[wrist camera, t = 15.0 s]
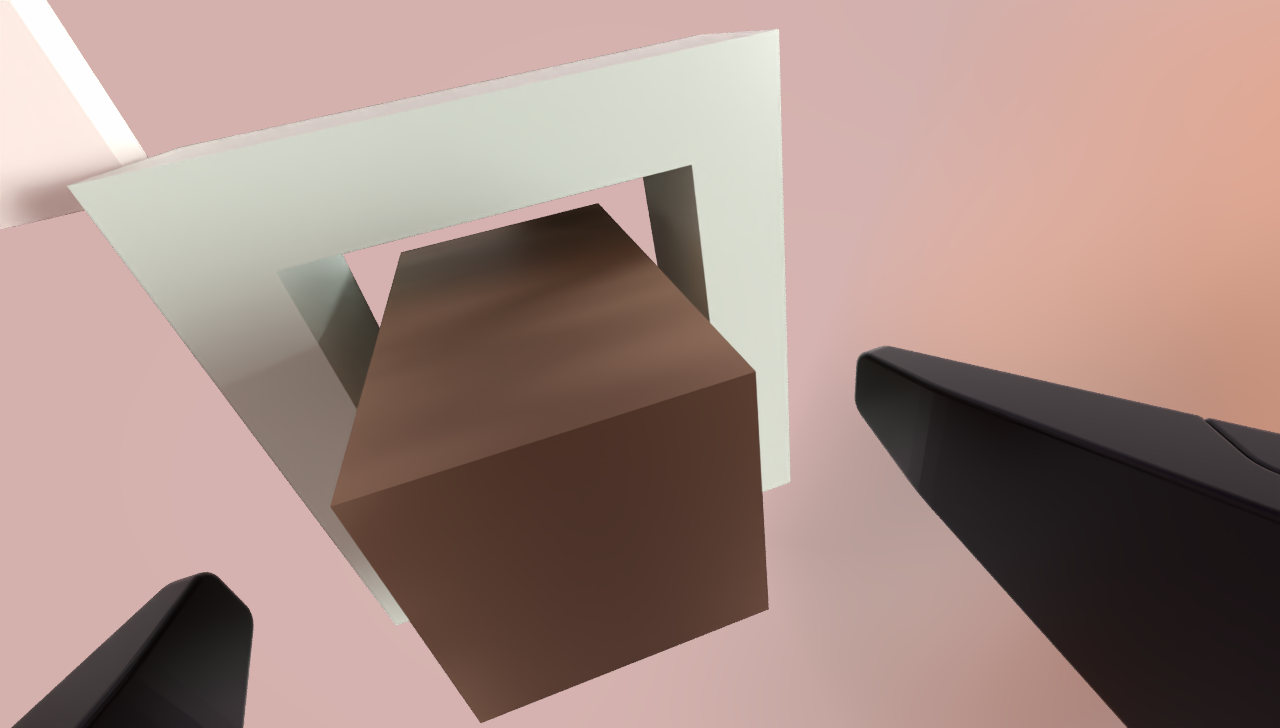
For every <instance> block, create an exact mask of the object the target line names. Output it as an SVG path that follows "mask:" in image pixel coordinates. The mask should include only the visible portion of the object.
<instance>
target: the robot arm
mask: <svg viewBox="0 0 1280 728" xmlns="http://www.w3.org/2000/svg"><path fill="white" fill-rule="evenodd" d="M855 402H856V405H857V409H858V411H859V412H860V414H861V416H862V417H863V418H864V420H865V421H866V422H867V424H868V425H869V427H870V428H871V429H872V431H873V432H874V434H875V435H876V436H877V438H878V439H879V440H880V442H881V443H882V445H883V446H884V447H885V449H886V450H887V452H888V453H889V454H890V456H891V457H892V458H893V460H894V461H895V463H896V464H897V465H898V467H899V468H900V469H901V471H902V472H903V474H904V475H905V476H906V478H907V479H908V480H909V482H910V483H911V484H912V486H913V487H914V488H915V490H916V491H917V492H918V493H919V494H920V496H921V497H922V498H923V499H924V500H925V501H926V503H927V504H928V505H929V506H930V507H931V508H932V510H933V511H934V512H935V513H936V514H937V515H938V516H939V517H940V519H941V520H943V522H944V523H945V524H946V525H947V526H948V528H950V530H951V531H952V532H953V533H954V534H955V535H956V536H957V538H958V539H959V540H960V541H961V542H962V543H963V544H964V545H965V546H966V548H967V549H968V550H969V551H970V552H971V553H972V554H973V556H974V557H975V558H976V559H977V560H978V561H979V562H980V563H981V564H982V566H983V567H984V568H985V569H986V570H987V571H988V572H989V573H990V574H991V576H992V577H993V578H994V579H995V580H996V581H997V582H998V584H999V585H1000V586H1001V587H1002V588H1003V589H1004V590H1005V591H1006V592H1007V593H1008V595H1009V596H1010V597H1011V598H1012V599H1013V600H1014V601H1015V603H1016V604H1017V605H1018V606H1019V607H1020V608H1021V609H1022V610H1023V612H1024V613H1025V614H1026V615H1027V616H1028V617H1029V618H1030V619H1031V620H1032V622H1033V623H1034V624H1035V625H1036V626H1037V627H1038V628H1039V629H1040V631H1041V632H1042V633H1043V634H1044V635H1045V636H1046V637H1047V638H1048V640H1049V641H1050V642H1051V643H1052V644H1053V645H1054V646H1055V647H1056V649H1058V651H1059V652H1060V653H1061V654H1062V655H1063V656H1064V657H1065V658H1066V660H1067V661H1068V662H1069V663H1070V664H1071V665H1072V666H1073V667H1074V669H1075V670H1076V671H1077V672H1078V673H1079V674H1080V675H1081V676H1082V678H1083V679H1084V680H1085V681H1086V682H1087V683H1088V684H1089V685H1090V687H1091V688H1092V689H1093V690H1094V691H1095V692H1096V693H1097V694H1098V696H1099V697H1100V698H1101V699H1102V700H1103V701H1104V702H1105V703H1106V705H1107V706H1108V707H1109V708H1110V709H1111V710H1112V711H1113V712H1114V713H1115V715H1116V716H1117V717H1118V718H1119V719H1120V720H1121V721H1122V722H1123V724H1124V725H1125V726H1126V727H1127V728H1280V434H1279V433H1274V432H1270V431H1265V430H1260V429H1256V428H1251V427H1247V426H1242V425H1238V424H1234V423H1229V422H1225V421H1220V420H1216V419H1211V418H1208V419H1205V420H1204V419H1203V418H1202V417H1200V416H1197V415H1193V414H1189V413H1184V412H1180V411H1175V410H1171V409H1166V408H1162V407H1157V406H1153V405H1149V404H1144V403H1140V402H1135V401H1131V400H1126V399H1122V398H1117V397H1113V396H1108V395H1104V394H1100V393H1095V392H1091V391H1086V390H1082V389H1077V388H1073V387H1069V386H1064V385H1059V384H1055V383H1051V382H1046V381H1042V380H1038V379H1033V378H1028V377H1024V376H1019V375H1015V374H1011V373H1006V372H1002V371H998V370H993V369H989V368H984V367H979V366H975V365H971V364H966V363H962V362H957V361H953V360H949V359H944V358H940V357H935V356H931V355H927V354H922V353H918V352H913V351H908V350H904V349H900V348H895V347H891V346H882V347H878V348H875V349H872V350H869V351H867V352H864V353H862V354H861V355H860V356H859V357H858V360H857V366H856V383H855ZM252 637H253V618H252V614H251V612H250V610H249V608H248V607H247V606H246V605H245V604H244V603H243V602H242V601H241V600H240V599H239V598H238V597H237V596H236V595H235V594H234V592H233V591H231V589H229V588H228V586H227V585H226V584H225V583H224V582H223V581H222V580H221V579H220V578H219V577H217V576H216V575H215V574H212V573H209V572H203V573H199V574H195V575H193V576H189V577H186V578H183V579H180V580H177V581H175V582H172V583H170V584H168V585H167V586H165V587H164V588H163V589H161V591H159V592H158V593H157V594H156V595H155V596H154V597H153V598H152V599H151V600H149V601H148V602H147V603H146V604H145V605H144V606H143V607H142V608H141V609H140V610H139V611H138V612H136V613H135V614H134V615H133V616H132V617H131V618H130V619H129V620H128V621H127V622H126V623H125V624H124V625H122V626H121V627H120V628H119V629H118V630H117V631H116V632H115V633H114V634H113V635H112V636H111V637H110V638H108V639H107V640H106V641H105V642H104V643H103V644H102V645H101V646H100V647H98V648H97V649H96V650H95V651H94V652H93V653H92V654H91V655H90V656H89V657H88V658H87V659H86V660H84V661H83V662H82V663H81V664H80V665H79V666H78V667H77V668H76V669H75V670H73V671H72V672H71V673H70V674H69V675H68V676H67V677H66V678H65V679H64V680H63V681H62V682H61V683H60V684H58V685H57V686H56V687H55V688H54V689H53V690H52V691H51V692H50V693H49V694H47V695H46V696H45V697H44V698H43V699H42V700H41V701H40V702H39V703H38V704H37V705H35V707H34V708H32V709H31V710H30V711H29V712H28V713H27V714H26V715H25V716H24V717H23V718H21V719H20V720H19V721H18V722H17V723H16V724H15V725H14V726H13V727H12V728H243V725H244V715H245V705H246V696H247V686H248V676H249V666H250V657H251V647H252Z"/></svg>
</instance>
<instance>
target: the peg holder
mask: <svg viewBox="0 0 1280 728" xmlns="http://www.w3.org/2000/svg"><path fill="white" fill-rule="evenodd" d="M781 136H782V134H781V95H780V56H779V29H772V30H758V31H745V32H731V33H718V34H704V35H696V36H691V37H686V38H683V39H677V40H673V41H668V42H663V43H659V44H655V45H650V46H645V47H640V48H636V49H631V50H627V51H622V52H617V53H613V54H608V55H604V56H599V57H594V58H590V59H585V60H580V61H576V62H571V63H567V64H562V65H558V66H553V67H549V68H544V69H539V70H534V71H530V72H525V73H521V74H516V75H512V76H507V77H502V78H497V79H493V80H488V81H484V82H480V83H474V84H471V85H465V86H461V87H456V88H451V89H447V90H442V91H438V92H433V93H428V94H424V95H419V96H415V97H410V98H405V99H401V100H396V101H391V102H387V103H382V104H378V105H373V106H368V107H364V108H359V109H355V110H350V111H346V112H341V113H337V114H332V115H327V116H323V117H318V118H313V119H308V120H304V121H300V122H295V123H290V124H286V125H281V126H277V127H272V128H267V129H262V130H258V131H253V132H249V133H244V134H239V135H235V136H230V137H226V138H221V139H216V140H212V141H207V142H203V143H198V144H193V145H189V146H185V147H180V148H177V149H174V150H171V151H168V152H165V153H162V154H159V155H156V156H154V157H151V158H147V159H145V160H142V161H139V162H136V163H133V164H130V165H127V166H124V167H121V168H118V169H115V170H112V171H109V172H106V173H103V174H101V175H98V176H95V177H92V178H89V179H86V180H83V181H80V182H77V183H74V184H71V185H68V186H67V187H68V188H69V189H70V191H71V192H72V193H73V195H74V196H75V197H76V199H77V200H78V201H79V203H80V204H81V205H82V207H83V208H84V209H85V211H86V212H87V213H88V215H89V216H90V218H91V219H92V220H93V221H94V223H95V224H96V226H97V227H98V228H99V230H100V231H101V232H102V233H103V235H104V236H105V237H106V239H107V240H108V241H109V243H110V244H111V245H112V247H113V248H114V250H115V251H116V252H117V254H118V255H119V256H120V257H121V259H122V260H123V262H124V263H125V264H126V266H127V267H128V268H129V269H130V271H131V272H132V274H133V275H134V276H135V278H136V279H137V280H138V282H139V283H140V284H141V286H142V287H143V288H144V290H145V291H146V292H147V293H148V295H149V296H150V298H151V299H152V300H153V302H154V303H155V304H156V306H157V307H158V308H159V310H160V311H161V312H162V314H163V315H164V316H165V318H166V319H167V320H168V322H169V323H170V324H171V326H172V327H173V328H174V330H175V331H176V332H177V334H178V335H179V336H180V338H181V339H182V340H183V342H184V343H185V344H186V345H187V347H188V348H189V350H190V351H191V352H192V354H193V355H194V356H195V358H196V359H197V360H198V362H199V363H200V364H201V366H202V367H203V368H204V370H205V371H206V372H207V374H208V375H209V376H210V378H211V379H212V380H213V382H214V383H215V384H216V386H217V387H218V388H219V390H220V391H221V392H222V394H223V395H224V396H225V398H226V399H227V400H228V402H229V403H230V404H231V406H232V407H233V408H234V410H235V411H236V412H237V414H238V415H239V416H240V418H241V419H242V420H243V422H244V423H245V424H246V426H247V427H248V429H249V430H250V431H251V433H252V434H253V435H254V436H255V438H256V439H257V441H258V442H259V443H260V445H261V446H262V447H263V449H264V450H265V451H266V453H267V454H268V455H269V457H270V458H271V459H272V461H273V462H274V463H275V465H276V466H277V467H278V469H279V470H280V471H281V472H282V474H283V475H284V477H285V478H286V479H287V481H288V482H289V483H290V485H291V486H292V487H293V488H294V490H295V491H296V493H297V494H298V495H299V497H300V498H301V499H302V500H303V502H304V503H305V505H306V506H307V507H308V509H309V510H310V511H311V513H312V514H313V515H314V517H315V518H316V519H317V521H318V522H319V523H320V525H321V526H322V527H323V529H324V530H325V531H326V533H327V534H328V535H329V537H330V538H331V539H332V541H333V542H334V543H335V545H336V546H337V547H338V549H339V550H340V551H341V553H342V554H343V555H344V557H345V558H346V559H347V561H348V562H349V563H350V565H351V566H352V567H353V569H354V570H355V571H356V573H357V574H358V575H359V577H360V578H361V579H362V581H363V582H364V583H365V585H366V586H367V587H368V589H369V590H370V591H371V593H372V594H373V595H374V597H375V598H376V599H377V601H378V602H379V603H380V605H381V606H382V607H383V609H384V610H385V611H386V612H387V614H388V615H389V617H390V618H391V619H392V621H393V622H394V623H395V625H396V626H397V625H400V624H402V623H405V622H407V621H409V619H408V618H407V616H406V615H405V614H404V612H403V611H402V609H401V608H400V606H399V605H398V604H397V602H396V601H395V599H394V598H393V596H392V595H391V593H390V592H389V591H388V589H387V588H386V586H385V585H384V583H383V582H382V581H381V579H380V578H379V576H378V575H377V573H376V572H375V571H374V569H373V568H372V566H371V565H370V563H369V562H368V560H367V559H366V558H365V556H364V555H363V553H362V552H361V550H360V549H359V548H358V546H357V545H356V543H355V542H354V540H353V539H352V537H351V536H350V535H349V533H348V532H347V530H346V529H345V527H344V526H343V525H342V523H341V522H340V520H339V519H338V517H337V516H336V514H335V513H334V512H333V510H332V509H331V507H330V505H331V501H332V498H333V494H334V491H335V487H336V483H337V480H338V476H339V473H340V469H341V466H342V462H343V458H344V455H345V451H346V448H347V444H348V441H349V437H350V433H351V430H352V426H353V423H354V419H355V415H356V412H357V408H358V405H359V401H360V398H361V394H362V390H363V387H364V383H365V380H366V376H367V373H368V369H369V365H370V362H371V358H372V355H373V351H374V348H375V344H376V340H377V337H378V333H379V330H380V328H379V326H378V324H377V322H376V320H375V318H374V316H373V314H372V312H371V310H370V308H369V306H368V304H367V302H366V300H365V298H364V296H363V294H362V292H361V290H360V288H359V286H358V284H357V282H356V280H355V279H354V276H353V274H352V272H351V270H350V268H349V266H348V265H347V263H346V261H345V259H344V257H343V255H342V254H345V253H349V252H352V251H356V250H360V249H364V248H368V247H372V246H376V245H380V244H384V243H388V242H391V241H395V240H399V239H403V238H407V237H411V236H415V235H419V234H423V233H427V232H430V231H434V230H438V229H442V228H446V227H450V226H454V225H457V224H462V223H466V222H469V221H473V220H477V219H481V218H485V217H489V216H493V215H497V214H501V213H505V212H508V211H512V210H516V209H520V208H524V207H528V206H532V205H536V204H539V203H543V202H548V201H552V200H555V199H559V198H563V197H567V196H571V195H575V194H578V193H582V192H587V191H591V190H594V189H598V188H602V187H606V186H610V185H614V184H618V183H622V182H626V181H629V180H633V179H637V178H641V177H643V180H644V186H645V192H646V199H647V204H648V210H649V217H650V222H651V229H652V235H653V241H654V247H655V253H656V258H657V265H658V268H659V269H660V270H661V271H662V272H663V273H664V274H665V275H666V276H667V277H668V278H669V279H670V280H671V282H672V283H673V284H674V285H675V286H676V287H677V288H678V289H679V290H680V291H681V292H682V293H683V294H684V295H685V296H686V298H687V299H688V300H689V301H690V302H691V303H692V304H693V305H694V306H695V307H696V308H697V309H698V310H699V311H700V312H701V314H702V315H703V316H704V317H705V318H706V319H707V320H708V321H709V322H710V323H711V324H712V325H713V326H714V327H715V328H716V330H717V331H718V332H719V333H720V334H721V335H722V336H723V337H724V338H725V339H726V340H727V341H728V342H729V343H730V344H731V346H732V347H733V348H734V349H735V350H736V351H737V352H738V353H739V354H740V355H741V356H742V357H743V358H744V359H745V360H746V362H747V363H748V364H749V365H750V366H751V367H752V368H753V369H754V370H755V371H756V383H757V402H758V421H759V439H760V458H761V477H762V492H764V491H767V490H770V489H772V488H775V487H778V486H781V485H784V484H786V483H789V482H790V448H789V412H788V411H789V407H788V370H787V329H786V290H785V252H784V251H785V250H784V213H783V172H782V137H781Z"/></svg>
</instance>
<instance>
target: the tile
mask: <svg viewBox="0 0 1280 728" xmlns="http://www.w3.org/2000/svg"><path fill="white" fill-rule="evenodd" d="M147 158H148V157H147V155H146V153H145V152H144V150H143V149H142V147H141V146H140V144H139V143H138V141H137V139H136V138H135V136H134V135H133V133H132V132H131V130H130V129H129V127H128V126H127V124H126V122H125V121H124V119H123V118H122V116H121V115H120V113H119V112H118V110H117V109H116V107H115V106H114V104H113V103H112V101H111V99H110V98H109V96H108V95H107V93H106V92H105V90H104V89H103V87H102V86H101V84H100V82H99V81H98V79H97V78H96V76H95V75H94V73H93V72H92V70H91V69H90V67H89V66H88V64H87V62H86V61H85V59H84V58H83V57H82V55H81V53H80V51H79V50H78V49H77V47H76V45H75V44H74V42H73V41H72V39H71V38H70V36H69V35H68V33H67V32H66V30H65V28H64V27H63V25H62V24H61V22H60V21H59V19H58V18H57V16H56V15H55V13H54V11H53V10H52V8H51V7H50V5H49V4H48V2H47V1H46V0H0V229H5V228H9V227H14V226H18V225H22V224H27V223H31V222H36V221H40V220H44V219H49V218H53V217H58V216H62V215H67V214H71V213H75V212H79V211H84V210H85V209H84V208H83V207H82V205H81V204H80V203H79V201H78V200H77V199H76V197H75V196H74V195H73V193H72V192H71V191H70V189H69V188H68V187H67V186H68V185H71V184H74V183H77V182H80V181H83V180H86V179H89V178H92V177H95V176H98V175H101V174H103V173H106V172H109V171H112V170H115V169H118V168H121V167H124V166H127V165H130V164H133V163H136V162H139V161H142V160H145V159H147Z"/></svg>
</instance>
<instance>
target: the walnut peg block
mask: <svg viewBox="0 0 1280 728" xmlns="http://www.w3.org/2000/svg"><path fill="white" fill-rule="evenodd" d="M330 507H331V509H332V510H333V512H334V513H335V514H336V516H337V517H338V519H339V520H340V522H341V523H342V525H343V526H344V527H345V529H346V530H347V532H348V533H349V535H350V536H351V537H352V539H353V540H354V542H355V543H356V545H357V546H358V548H359V549H360V550H361V552H362V553H363V555H364V556H365V558H366V559H367V560H368V562H369V563H370V565H371V566H372V568H373V569H374V571H375V572H376V573H377V575H378V576H379V578H380V579H381V581H382V582H383V583H384V585H385V586H386V588H387V589H388V591H389V592H390V593H391V595H392V596H393V598H394V599H395V601H396V602H397V604H398V605H399V606H400V608H401V609H402V611H403V612H404V614H405V615H406V616H407V618H408V619H409V621H410V622H411V624H412V625H413V627H414V628H415V629H416V631H417V632H418V634H419V635H420V637H421V638H422V639H423V641H424V642H425V644H426V645H427V646H428V648H429V649H430V651H431V652H432V654H433V655H434V657H435V658H436V660H437V661H438V662H439V664H440V665H441V667H442V668H443V670H444V671H445V673H446V674H447V675H448V677H449V678H450V680H451V681H452V683H453V684H454V685H455V687H456V688H457V690H458V691H459V693H460V694H461V695H462V697H463V698H464V699H465V701H466V703H467V704H468V706H469V707H470V708H471V710H472V711H473V713H474V714H475V715H476V717H477V718H478V720H479V721H480V723H482V722H485V721H487V720H490V719H493V718H495V717H498V716H500V715H503V714H505V713H507V712H510V711H512V710H515V709H518V708H520V707H523V706H525V705H528V704H530V703H532V702H535V701H538V700H540V699H543V698H545V697H548V696H551V695H553V694H556V693H558V692H561V691H563V690H566V689H568V688H571V687H573V686H576V685H578V684H581V683H583V682H586V681H588V680H591V679H593V678H596V677H599V676H601V675H604V674H606V673H609V672H611V671H614V670H616V669H619V668H621V667H624V666H626V665H629V664H631V663H634V662H636V661H639V660H641V659H644V658H646V657H649V656H652V655H654V654H657V653H659V652H662V651H664V650H667V649H669V648H672V647H674V646H677V645H679V644H682V643H684V642H687V641H690V640H692V639H695V638H697V637H700V636H702V635H704V634H707V633H710V632H712V631H715V630H717V629H720V628H722V627H725V626H727V625H730V624H732V623H735V622H738V621H740V620H743V619H745V618H748V617H750V616H753V615H755V614H758V613H760V612H763V611H765V610H768V609H769V608H768V589H767V571H766V551H765V534H764V515H763V495H762V477H761V458H760V439H759V421H758V402H757V383H756V371H755V370H754V369H753V368H752V367H751V366H750V365H749V364H748V363H747V362H746V360H745V359H744V358H743V357H742V356H741V355H740V354H739V353H738V352H737V351H736V350H735V349H734V348H733V347H732V346H731V344H730V343H729V342H728V341H727V340H726V339H725V338H724V337H723V336H722V335H721V334H720V333H719V332H718V331H717V330H716V328H715V327H714V326H713V325H712V324H711V323H710V322H709V321H708V320H707V319H706V318H705V317H704V316H703V315H702V314H701V312H700V311H699V310H698V309H697V308H696V307H695V306H694V305H693V304H692V303H691V302H690V301H689V300H688V299H687V298H686V296H685V295H684V294H683V293H682V292H681V291H680V290H679V289H678V288H677V287H676V286H675V285H674V284H673V283H672V282H671V280H670V279H669V278H668V277H667V276H666V275H665V274H664V273H663V272H662V271H661V270H660V269H659V268H658V267H657V266H656V264H655V263H654V262H653V261H652V260H651V259H650V258H649V257H648V256H647V255H646V254H645V253H644V252H643V251H642V250H641V248H640V247H639V246H638V245H637V244H636V243H635V242H634V241H633V240H632V239H631V238H630V237H629V236H628V235H627V234H626V233H625V231H623V229H622V228H621V227H620V226H619V225H618V224H617V223H616V222H615V221H614V220H613V219H612V218H611V216H610V215H609V214H608V213H607V212H606V211H605V210H604V209H603V208H602V207H601V206H600V205H599V204H593V205H589V206H585V207H581V208H577V209H573V210H569V211H565V212H561V213H557V214H553V215H549V216H545V217H541V218H537V219H533V220H529V221H525V222H521V223H517V224H513V225H509V226H505V227H501V228H498V229H493V230H489V231H485V232H481V233H477V234H473V235H469V236H465V237H461V238H457V239H453V240H449V241H445V242H441V243H437V244H433V245H429V246H425V247H421V248H417V249H413V250H409V251H405V252H401V255H400V258H399V262H398V265H397V269H396V273H395V276H394V280H393V283H392V287H391V290H390V294H389V297H388V301H387V305H386V308H385V312H384V315H383V319H382V323H381V326H380V330H379V333H378V337H377V340H376V344H375V348H374V351H373V355H372V358H371V362H370V365H369V369H368V373H367V376H366V380H365V383H364V387H363V390H362V394H361V398H360V401H359V405H358V408H357V412H356V415H355V419H354V423H353V426H352V430H351V433H350V437H349V441H348V444H347V448H346V451H345V455H344V458H343V462H342V466H341V469H340V473H339V476H338V480H337V483H336V487H335V491H334V494H333V498H332V501H331V505H330Z"/></svg>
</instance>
